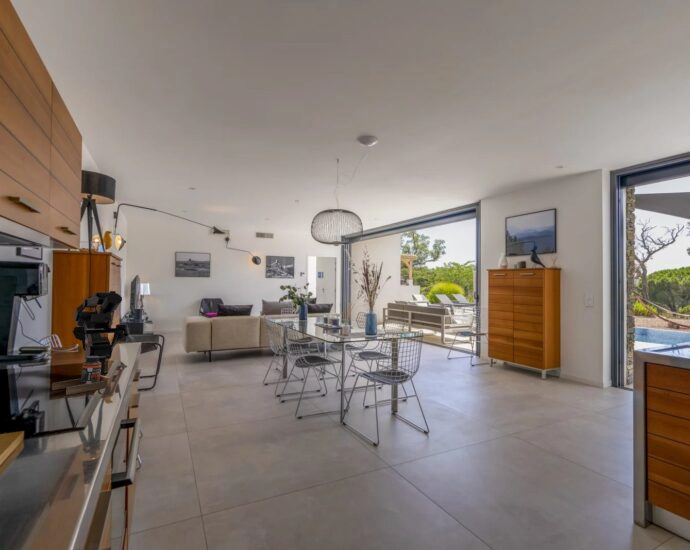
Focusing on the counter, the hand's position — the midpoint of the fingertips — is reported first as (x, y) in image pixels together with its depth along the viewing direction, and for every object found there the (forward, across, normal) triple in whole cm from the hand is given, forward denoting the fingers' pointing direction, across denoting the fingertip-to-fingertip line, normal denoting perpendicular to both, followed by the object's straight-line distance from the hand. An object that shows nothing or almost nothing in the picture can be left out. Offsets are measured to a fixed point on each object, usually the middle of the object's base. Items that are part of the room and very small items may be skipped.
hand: (97, 349), depth 144 cm
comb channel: (+15, -4, +2) cm, 16 cm away
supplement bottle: (+14, -1, +4) cm, 15 cm away
